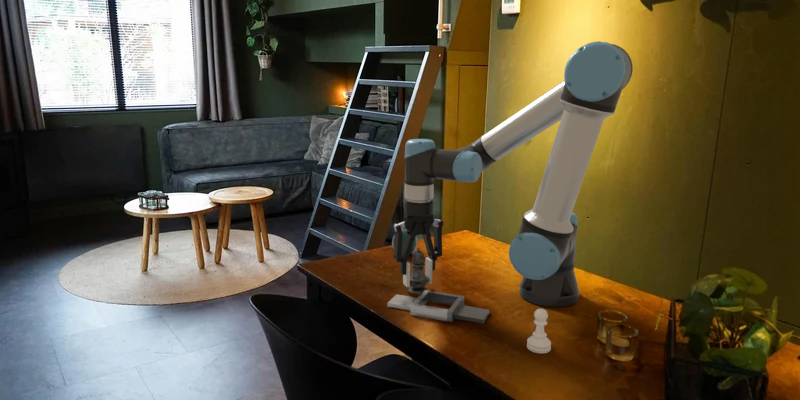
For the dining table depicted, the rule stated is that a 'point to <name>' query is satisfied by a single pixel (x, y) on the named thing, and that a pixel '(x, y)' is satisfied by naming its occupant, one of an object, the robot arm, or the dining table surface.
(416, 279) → the grey chess piece
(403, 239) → the sphere
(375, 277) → the dining table surface
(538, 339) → the chess pawn
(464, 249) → the dining table surface
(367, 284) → the dining table surface
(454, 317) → the flanged square frame
